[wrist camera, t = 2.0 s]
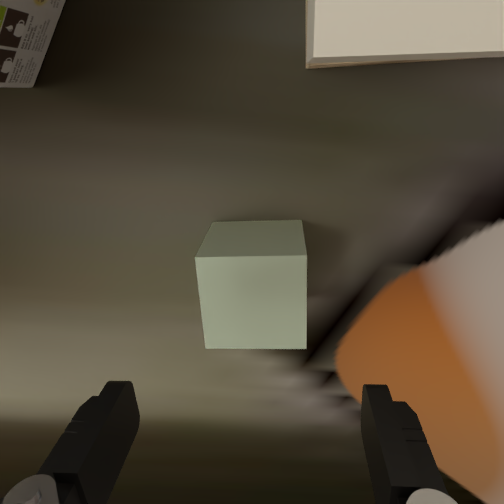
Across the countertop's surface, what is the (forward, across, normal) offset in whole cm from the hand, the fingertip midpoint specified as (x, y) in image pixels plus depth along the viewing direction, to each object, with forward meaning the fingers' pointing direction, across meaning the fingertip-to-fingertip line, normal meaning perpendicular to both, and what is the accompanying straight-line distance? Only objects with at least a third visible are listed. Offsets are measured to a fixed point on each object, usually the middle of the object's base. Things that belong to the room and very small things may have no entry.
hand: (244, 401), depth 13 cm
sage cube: (+12, 0, 0) cm, 13 cm away
